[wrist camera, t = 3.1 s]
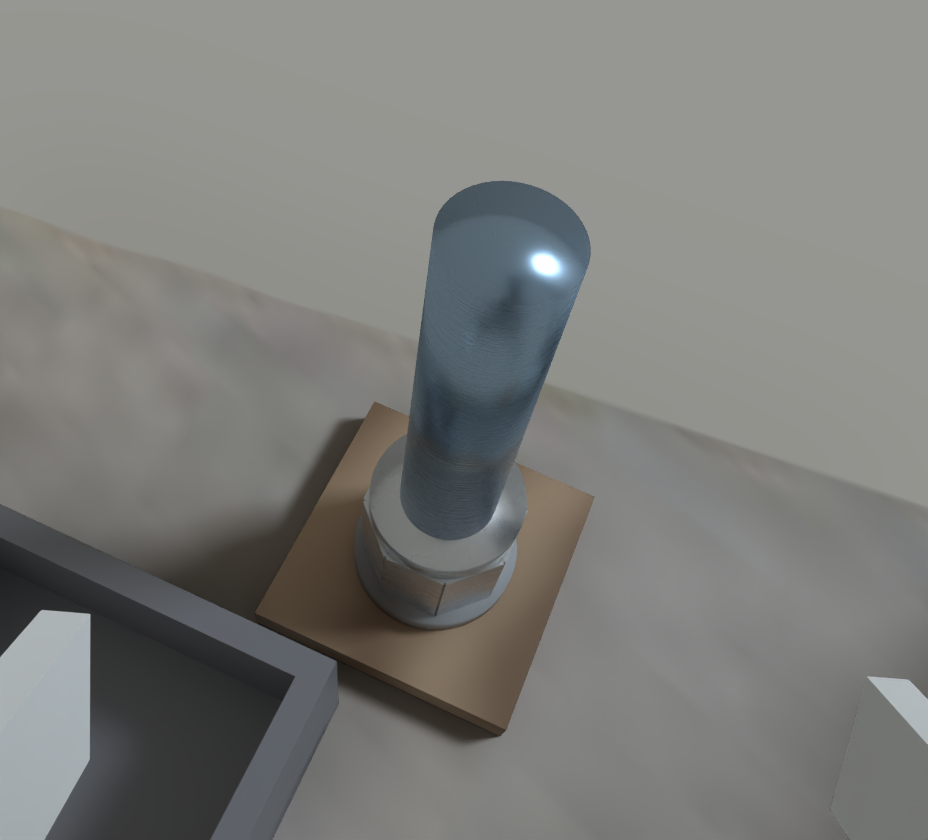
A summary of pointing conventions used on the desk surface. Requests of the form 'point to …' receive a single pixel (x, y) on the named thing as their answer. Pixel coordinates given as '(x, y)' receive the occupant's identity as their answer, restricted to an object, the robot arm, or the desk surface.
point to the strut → (473, 394)
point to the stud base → (406, 628)
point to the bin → (170, 697)
